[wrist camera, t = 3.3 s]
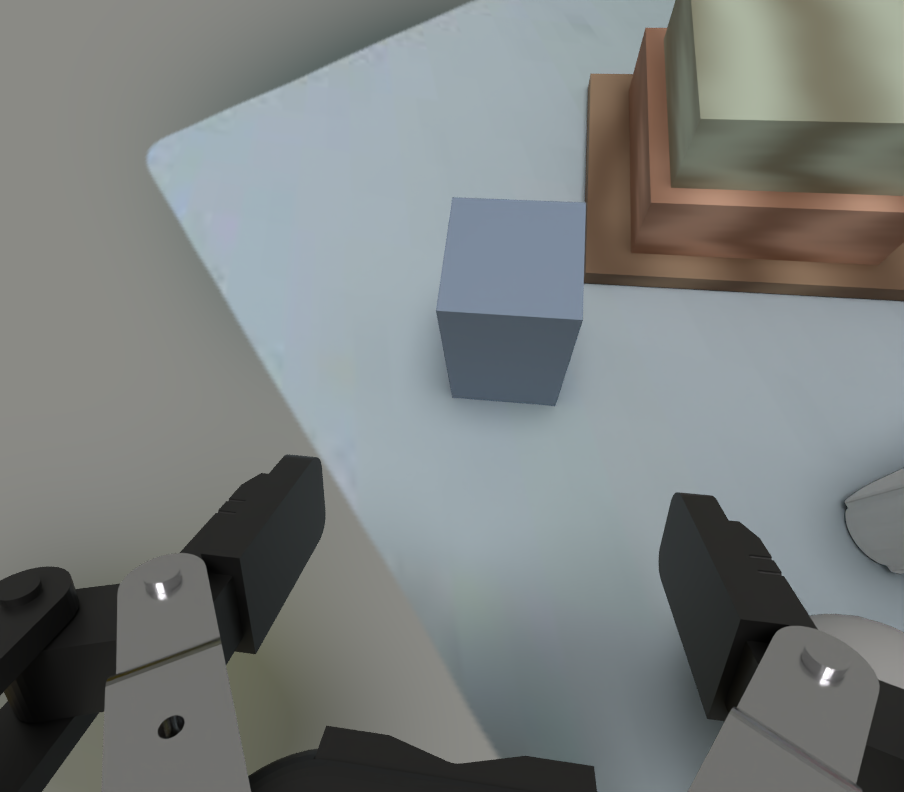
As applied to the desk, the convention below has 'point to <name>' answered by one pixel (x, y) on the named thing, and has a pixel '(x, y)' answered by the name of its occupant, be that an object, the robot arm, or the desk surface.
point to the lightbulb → (869, 643)
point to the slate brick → (511, 297)
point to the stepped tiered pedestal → (753, 152)
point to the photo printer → (879, 520)
